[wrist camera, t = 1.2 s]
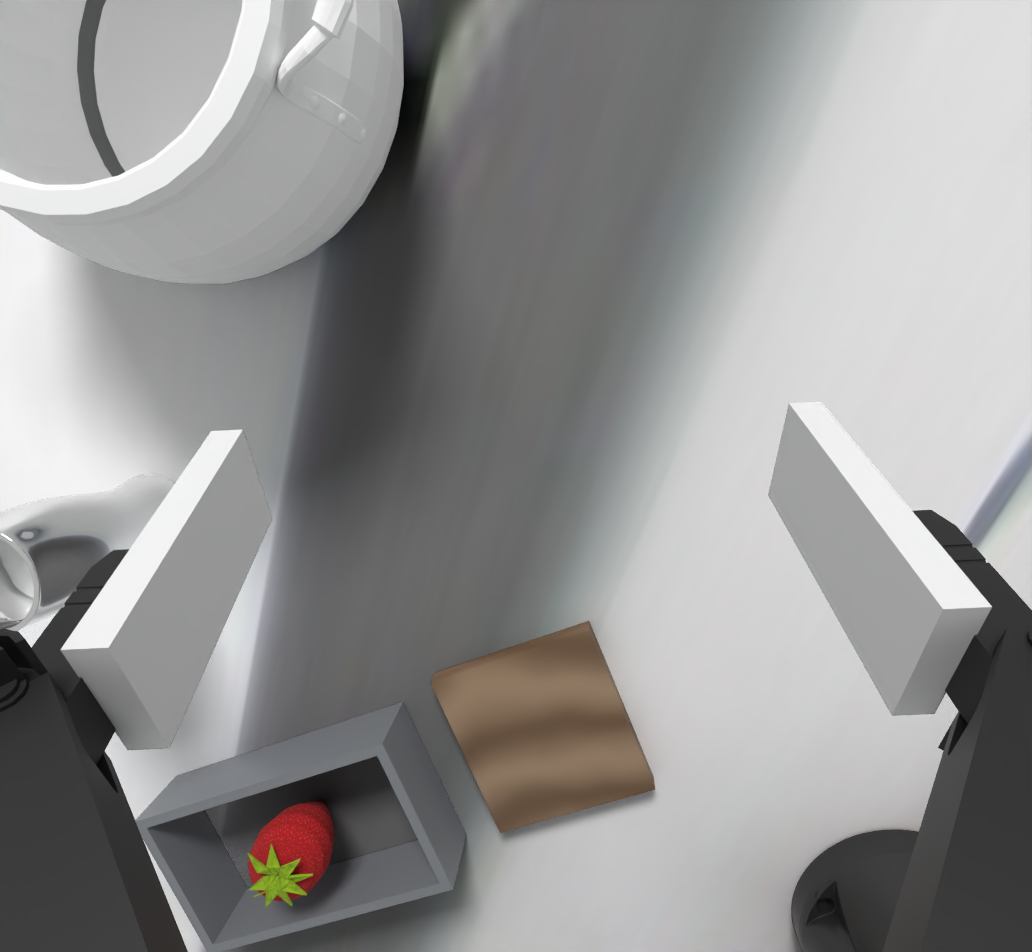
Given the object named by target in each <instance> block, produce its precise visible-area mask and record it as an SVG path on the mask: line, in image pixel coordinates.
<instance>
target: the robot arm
mask: <svg viewBox="0 0 1032 952" xmlns="http://www.w3.org/2000/svg"><path fill="white" fill-rule="evenodd" d="M768 496H769V497H770V499H771V501H772V503H773V505H774V506H775V508H776V510H777V512H778V513H779V515H780V517H781V519H782V521H783V522H784V524H785V526H786V528H787V530H788V531H789V533H790V535H791V537H792V538H793V540H794V542H795V544H796V546H797V547H798V549H799V551H800V553H801V554H802V556H803V558H804V560H805V562H806V563H807V565H808V567H809V569H810V570H811V572H812V574H813V576H814V578H815V579H816V581H817V583H818V585H819V586H820V588H821V590H822V592H823V594H824V595H825V597H826V599H827V601H828V602H829V604H830V606H831V608H832V610H833V611H834V613H835V615H836V617H837V618H838V620H839V622H840V624H841V626H842V627H843V629H844V631H845V633H846V635H847V636H848V638H849V640H850V642H851V643H852V645H853V647H854V649H855V651H856V652H857V654H858V656H859V658H860V659H861V661H862V663H863V665H864V667H865V668H866V670H867V672H868V674H869V675H870V677H871V679H872V681H873V683H874V684H875V686H876V688H877V690H878V691H879V693H880V695H881V697H882V699H883V700H884V702H885V704H886V706H887V707H888V709H889V711H890V713H891V715H892V716H895V715H918V714H935V712H936V710H937V708H938V706H939V705H940V703H941V701H942V699H943V697H944V695H945V693H947V694H948V696H949V697H950V699H951V700H952V702H953V703H954V705H955V706H956V708H957V709H958V711H959V712H958V714H957V715H956V717H955V719H954V721H953V722H952V724H951V726H950V728H949V729H948V731H947V733H946V735H945V736H944V738H943V740H942V742H941V743H940V745H939V747H938V748H940V749H942V750H944V752H943V755H942V758H941V761H940V765H939V768H938V771H937V774H936V778H935V781H934V784H933V788H932V791H931V794H930V797H929V801H928V804H927V807H926V810H925V814H924V817H923V820H922V824H921V827H920V830H919V832H915V831H909V830H879V831H872V832H867V833H863V834H859V835H856V836H853V837H850V838H848V839H845V840H843V841H841V842H839V843H837V844H835V845H833V846H832V847H830V848H828V849H827V850H826V851H824V852H823V853H822V854H820V855H819V856H818V857H817V858H816V859H815V860H814V861H813V862H812V863H811V864H810V865H809V866H808V868H807V869H806V870H805V872H804V873H803V875H802V876H801V878H800V880H799V882H798V884H797V886H796V889H795V892H794V896H793V901H792V919H793V925H794V929H795V932H796V935H797V937H798V940H799V943H800V946H801V949H802V952H1032V610H1031V609H1030V608H1029V607H1028V606H1027V605H1026V604H1025V602H1024V601H1023V600H1022V599H1021V598H1020V597H1019V596H1018V595H1017V593H1016V592H1015V591H1014V590H1013V589H1012V588H1011V587H1010V586H1009V585H1008V583H1007V582H1006V581H1005V580H1004V579H1003V578H1002V577H1001V576H1000V575H999V573H998V572H997V571H996V570H995V569H994V568H993V567H992V566H991V564H990V563H986V561H985V558H984V557H983V556H982V554H981V553H980V552H979V551H978V550H977V549H976V548H973V547H972V543H971V542H970V541H969V540H968V539H967V538H966V537H965V535H964V534H963V533H962V532H961V531H960V530H959V529H958V528H957V526H956V525H954V524H952V523H951V522H949V521H948V520H946V519H945V518H943V517H941V516H940V515H938V514H937V513H935V512H934V511H932V510H920V511H912V510H911V509H910V508H909V507H908V505H907V504H906V503H905V502H904V501H903V499H902V498H901V497H900V496H899V495H898V493H897V492H896V491H895V490H894V489H893V487H892V486H891V485H890V484H889V483H888V481H887V480H886V479H885V478H884V477H883V475H882V474H881V473H880V472H879V471H878V469H877V468H876V467H875V466H874V465H873V463H872V462H871V461H870V460H869V459H868V457H867V456H866V455H865V454H864V453H863V451H862V450H861V449H860V448H859V447H858V445H857V444H856V443H855V442H854V441H853V439H852V438H851V437H850V436H849V435H848V433H847V432H846V431H845V430H844V429H843V427H842V426H841V425H840V424H839V423H838V421H837V420H836V419H835V418H834V417H833V415H832V414H831V413H830V412H829V411H828V409H827V408H826V407H825V406H824V405H823V403H822V402H804V403H789V405H788V410H787V414H786V419H785V423H784V427H783V432H782V436H781V441H780V445H779V450H778V454H777V458H776V463H775V467H774V472H773V476H772V481H771V485H770V490H769V494H768ZM271 521H272V516H271V513H270V510H269V507H268V504H267V501H266V498H265V495H264V492H263V489H262V486H261V483H260V480H259V477H258V474H257V471H256V468H255V465H254V462H253V459H252V456H251V453H250V450H249V446H248V443H247V440H246V437H245V434H244V431H243V430H222V431H211V432H210V433H209V435H208V436H207V438H206V439H205V441H204V442H203V444H202V445H201V447H200V448H199V449H198V451H197V452H196V454H195V455H194V457H193V458H192V460H191V461H190V462H189V464H188V465H187V467H186V468H185V470H184V471H183V473H182V474H181V476H180V477H179V478H178V480H177V481H176V483H175V484H174V486H173V487H172V489H171V490H170V491H169V493H168V494H167V496H166V497H165V499H164V500H163V502H162V503H161V505H160V506H159V507H158V509H157V510H156V512H155V513H154V515H153V516H152V518H151V519H150V521H149V522H148V523H147V525H146V526H145V528H144V529H143V531H142V532H141V534H140V535H139V536H138V538H137V539H136V541H135V542H134V544H133V545H132V547H131V548H130V549H123V550H113V551H111V552H110V553H109V554H107V555H106V556H105V557H104V558H102V559H101V560H100V561H99V562H97V563H96V564H95V565H93V566H92V567H91V568H90V569H89V571H88V572H87V573H86V575H85V576H84V577H83V579H82V580H81V581H80V583H79V584H78V585H77V587H76V591H73V592H72V594H71V595H70V596H69V598H68V599H67V600H66V602H65V603H64V604H65V606H64V607H62V608H61V609H60V610H59V611H58V613H57V614H56V615H55V617H54V618H53V619H52V621H51V622H50V623H49V625H48V626H47V628H46V629H45V630H44V632H43V633H42V634H41V636H40V637H39V638H38V640H37V641H36V642H35V644H34V645H33V647H32V648H31V647H30V646H29V644H28V643H27V641H26V640H25V639H24V637H23V636H22V635H21V634H20V633H19V632H18V631H13V630H8V629H1V630H0V952H188V951H187V949H186V946H185V944H184V941H183V939H182V936H181V934H180V931H179V929H178V926H177V924H176V921H175V919H174V916H173V914H172V911H171V909H170V906H169V904H168V901H167V899H166V896H165V894H164V891H163V889H162V886H161V884H160V881H159V879H158V876H157V874H156V871H155V869H154V866H153V864H152V861H151V859H150V856H149V854H148V851H147V849H146V846H145V844H144V841H143V839H142V836H141V834H140V832H139V829H138V827H137V824H136V822H135V819H134V817H133V814H132V812H131V809H130V807H129V804H128V802H127V799H126V797H125V794H124V792H123V789H122V787H121V784H120V782H119V779H118V777H117V774H116V772H115V769H114V767H113V764H112V762H111V760H110V758H109V757H108V756H107V754H106V753H105V749H106V747H107V745H108V743H109V741H110V739H111V738H112V736H113V734H114V732H116V734H117V735H118V736H119V738H120V739H121V741H122V742H123V744H124V745H125V747H126V748H127V750H141V749H163V748H170V746H171V744H172V741H173V739H174V737H175V735H176V733H177V730H178V728H179V726H180V724H181V721H182V719H183V717H184V715H185V712H186V710H187V708H188V706H189V704H190V701H191V699H192V697H193V695H194V692H195V690H196V688H197V686H198V683H199V681H200V679H201V677H202V675H203V672H204V670H205V668H206V666H207V663H208V661H209V659H210V657H211V654H212V652H213V650H214V648H215V646H216V643H217V641H218V639H219V637H220V634H221V632H222V630H223V628H224V625H225V623H226V621H227V619H228V617H229V614H230V612H231V610H232V608H233V605H234V603H235V601H236V599H237V596H238V594H239V592H240V590H241V588H242V585H243V583H244V581H245V579H246V576H247V574H248V572H249V570H250V567H251V565H252V563H253V561H254V559H255V556H256V554H257V552H258V550H259V547H260V545H261V543H262V541H263V538H264V536H265V534H266V532H267V530H268V527H269V525H270V523H271Z"/></svg>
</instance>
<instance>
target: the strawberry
mask: <svg viewBox="0 0 1032 952" xmlns="http://www.w3.org/2000/svg"><path fill="white" fill-rule="evenodd" d="M334 837H335V834H334V827H333V822H332V818H331V814H330V812H329V810H328V809H327V806H326V804H325V803H324V802H322V801H309V802H304V803H300V804H296V805H293V806H290V807H288V808H286V809H285V810H283V811H282V812H281V813H280V814H278V815H277V816H276V817H275V818H274V819H272V820H271V821H270V822H269V823H268V824H267V825H265V826H264V827H263V829H262V830H261V831H260V832H259V834H258V836H257V838H256V840H255V842H254V845H253V847H252V849H251V852H250V853H247V854H248V856H249V861H248V869H249V874H250V878H251V880H252V883H253V886H252V887H251V888H250V889H249V890H257V891H258V892H259V893H260V894H258V895H255V896H254V897H257V896H259V895H261V894H262V895H263V896H264V897H266V901H265V908H266V907H267V906H268V905H269V904H270V902H271V901H272V900H275V901H285V902H287V903H288V904H289V905H290V906H291V907H292V906H293V904H292V902H291V900H293V899H296V898H299V897H301V896H303V895H307V893H308V892H309V891H310V890H311V889H312V888H313V887H314V886H315V885H316V884H317V882H318V881H319V880H320V878H321V877H322V876H323V874H324V873H325V871H326V869H327V868H328V866H329V862H330V859H331V854H332V849H333V844H334Z"/></svg>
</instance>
